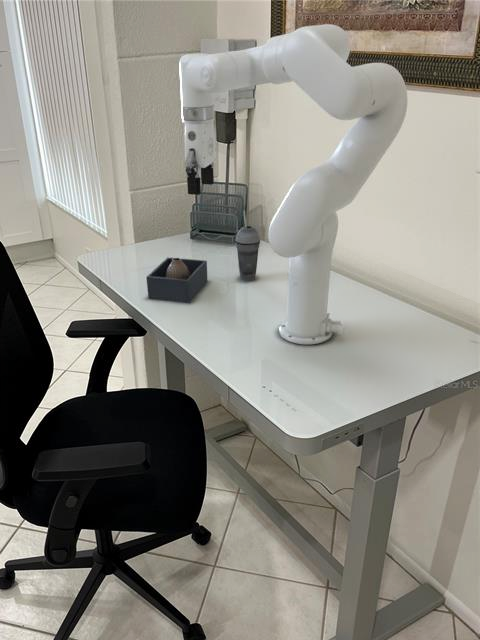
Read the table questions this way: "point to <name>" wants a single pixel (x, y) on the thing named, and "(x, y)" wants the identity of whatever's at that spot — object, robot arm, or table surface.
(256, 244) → the beverage cup
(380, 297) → the table surface
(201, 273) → the dark grey open box
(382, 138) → the robot arm
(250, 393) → the table surface
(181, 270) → the vase
